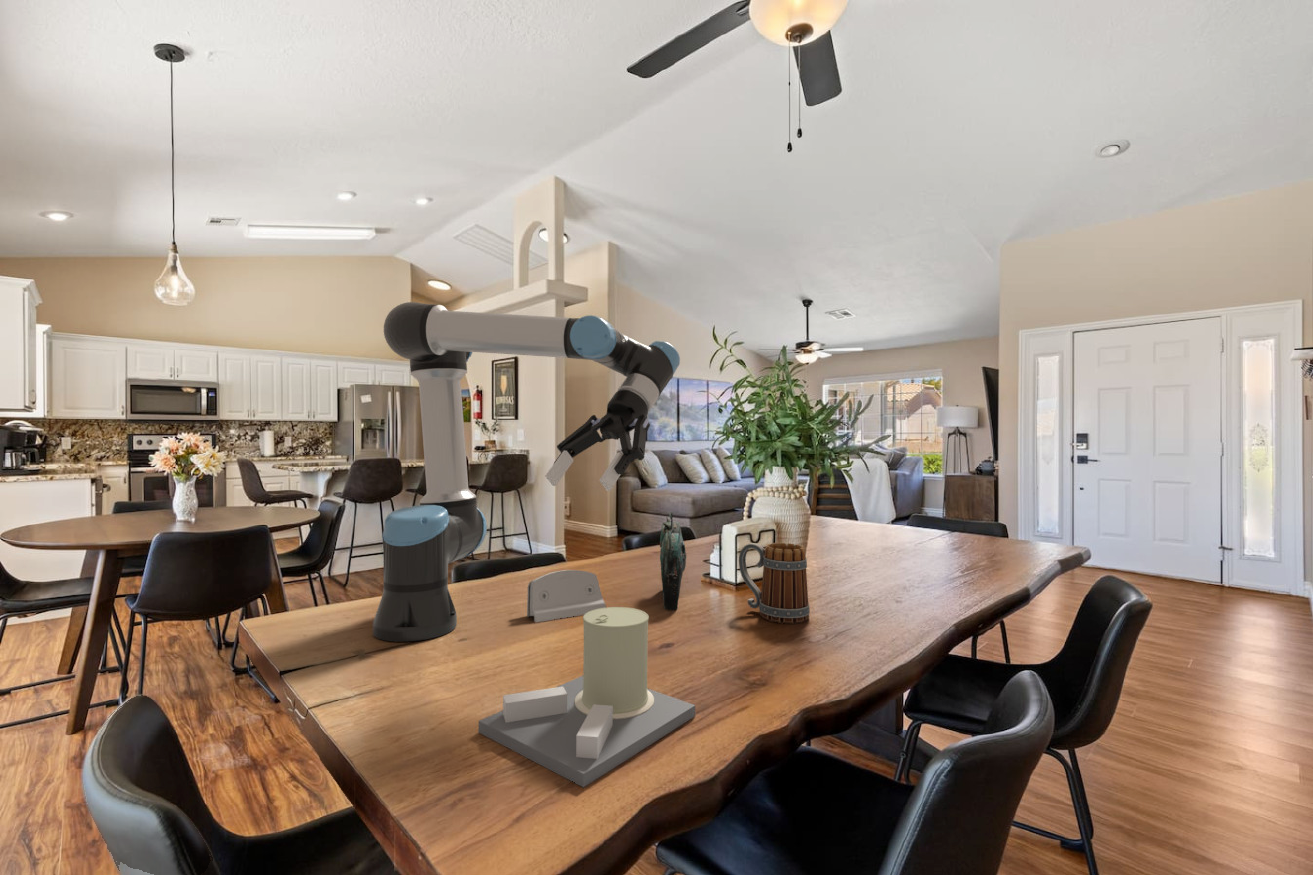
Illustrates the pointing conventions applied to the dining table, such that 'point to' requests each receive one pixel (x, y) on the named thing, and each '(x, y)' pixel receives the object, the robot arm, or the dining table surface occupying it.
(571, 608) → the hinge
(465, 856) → the dining table surface
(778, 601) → the mug
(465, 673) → the dining table surface
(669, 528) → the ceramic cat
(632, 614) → the can
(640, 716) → the coupling stand
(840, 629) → the dining table surface
